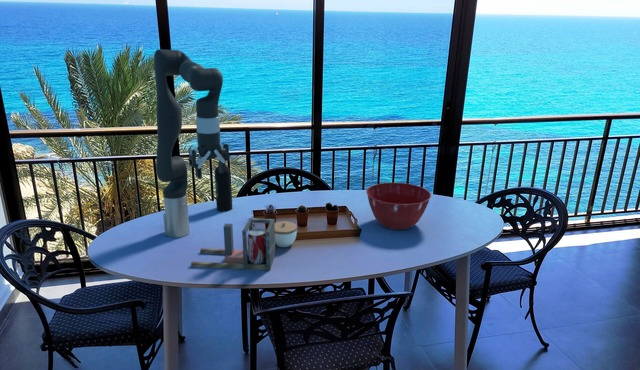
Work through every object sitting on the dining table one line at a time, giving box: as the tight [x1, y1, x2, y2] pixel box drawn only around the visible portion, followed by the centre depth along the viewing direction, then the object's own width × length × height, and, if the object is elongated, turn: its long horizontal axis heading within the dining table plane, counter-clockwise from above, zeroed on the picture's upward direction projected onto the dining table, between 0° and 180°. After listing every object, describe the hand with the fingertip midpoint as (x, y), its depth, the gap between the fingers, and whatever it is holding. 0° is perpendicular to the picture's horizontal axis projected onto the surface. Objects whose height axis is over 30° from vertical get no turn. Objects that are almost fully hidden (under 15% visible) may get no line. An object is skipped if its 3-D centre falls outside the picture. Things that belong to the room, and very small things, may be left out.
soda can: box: [247, 228, 267, 265], centre depth 166 cm, size 7×7×12 cm
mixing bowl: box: [366, 182, 432, 231], centre depth 201 cm, size 28×28×16 cm
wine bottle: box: [214, 149, 233, 212], centre depth 213 cm, size 8×8×30 cm
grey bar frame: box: [190, 217, 276, 271], centre depth 166 cm, size 29×12×15 cm, turn 87°
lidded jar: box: [275, 221, 298, 248], centre depth 181 cm, size 11×11×9 cm
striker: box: [223, 223, 249, 264], centre depth 166 cm, size 8×6×14 cm
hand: (210, 175), depth 155 cm, fingers open, 8 cm apart
